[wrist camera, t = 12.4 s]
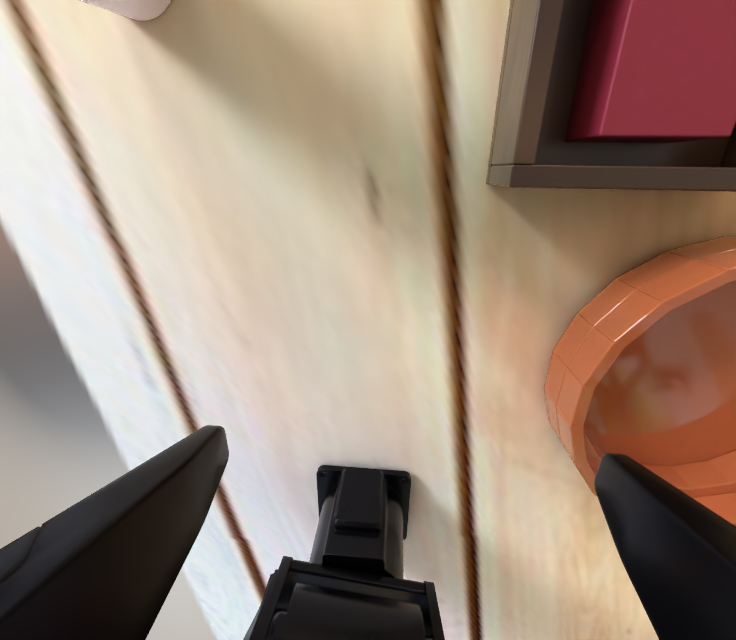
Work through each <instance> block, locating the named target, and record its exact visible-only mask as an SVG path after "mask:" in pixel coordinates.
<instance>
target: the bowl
mask: <svg viewBox="0 0 736 640" xmlns="http://www.w3.org/2000/svg"><path fill="white" fill-rule="evenodd" d="M544 387H545V388H544V391H545V398H546V404H547V411H548V418H549V421H550V424H551V425H552V427H553V429H554V430H555V432H556V434H557V435H558V437H559V439H560V441H561V442H562V444H563V446H564V447H565V449H566V451H567V452H568V454H569V456H570V458H571V459H572V461H573V463H574V464H575V466H576V467H577V469H578V471H579V472H580V474H581V475H582V477H583V479H584V480H585V482H586V483H587V485H588V487H589V488H590V490H591V491H592V493H593V494H594V495H596V496H597V494H596V491H595V487H594V479H595V475H596V473H597V470H598V467H599V464H600V461H601V458H602V456H603V455H604V454H606V453H617V454H625V455H627V456H629V457H630V458H632V459H633V460H635V461H637V462H638V463H640V464H641V465H643V466H644V467H646V468H647V469H649V470H650V471H652V472H653V473H655V474H656V475H658V476H660V477H661V478H663V479H664V480H666V481H667V482H669V483H670V484H672V485H673V486H675V487H676V488H678V489H680V490H681V491H683V492H684V493H686V494H687V495H689V496H690V497H692V498H693V499H695V500H696V501H698V502H700V503H701V504H703V505H704V506H706V507H707V508H709V509H710V510H712V511H713V512H715V513H716V514H718V515H719V516H721V517H723V518H724V519H726V520H727V521H729V522H730V523H732V524H733V525H735V526H736V237H721V238H717V239H713V240H709V241H705V242H701V243H697V244H693V245H689V246H685V247H681V248H677V249H673V250H669V251H667V252H664V253H663V254H661V255H659V256H657V257H655V258H653V259H651V260H649V261H647V262H646V263H644V264H642V265H640V266H638V267H636V268H634V269H632V270H630V271H629V272H627V273H625V274H623V275H621V276H619V277H618V278H617V279H615V280H613V281H612V282H611V283H610V284H609V285H608V286H607V287H606V288H604V289H603V290H602V291H601V292H600V293H599V294H598V295H597V296H596V297H594V298H593V299H592V300H591V301H590V302H589V303H588V304H587V305H585V306H584V307H583V308H582V309H581V310H580V311H579V312H578V313H577V314H576V315H575V317H574V319H573V320H572V322H571V323H570V325H569V326H568V328H567V330H566V331H565V333H564V334H563V336H562V337H561V339H560V341H559V342H558V344H557V345H556V347H555V348H554V351H553V354H552V358H551V362H550V366H549V370H548V374H547V378H546V382H545V386H544Z"/></svg>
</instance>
